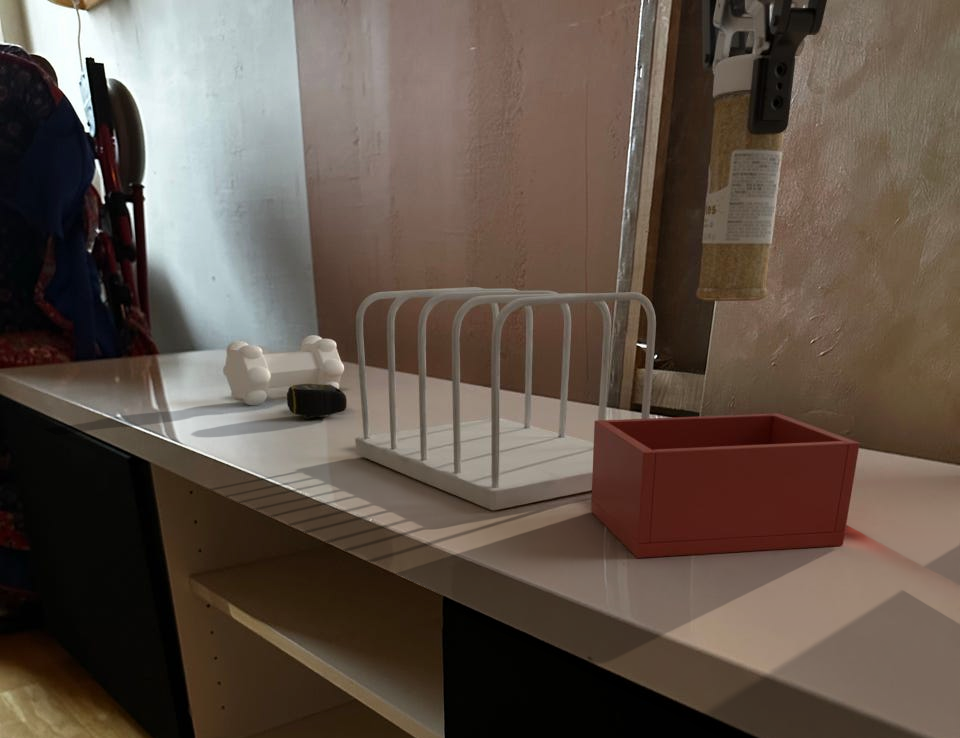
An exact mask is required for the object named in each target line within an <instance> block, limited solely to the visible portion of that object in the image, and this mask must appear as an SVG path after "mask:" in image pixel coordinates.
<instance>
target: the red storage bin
mask: <svg viewBox="0 0 960 738" xmlns="http://www.w3.org/2000/svg"><path fill="white" fill-rule="evenodd" d="M593 426H594V427H593V428H594V429H593V443H594V449H593V473H592V490H591V501H590V502H591V503H590V512H591V513H592V514H593V515H594V516H595V517H596V518H597V519H598V520H599V521H600V522H601V523H602V524H603V525H604V526H605V527H606V528H607V529H608V530H609V531H610V532H611V533H612V534H613V535H614V536H615V537H616V538H617V539H618V540H619V541H620V542H621V543H622V545H624V547H626V548H627V549H628V551H629V552H630V553H631V554H632V555H633V556H635V558H637V559H645V558H660V557H677V556H692V555H693V556H694V555H709V554H724V553H740V552H758V551H773V550H775V551H777V550H791V549H807V548H821V547H822V548H823V547H837V546H838V547H839V546H843V545H844V539H845V534H846V533H845V532H846V528H847V522H848V517H849V510H850V504H851V499H852V492H853V487H854V486H853V485H854V480H855V474H856V468H857V462H858V455H859V449H860V445H861V444H860V442H858V441H855V440H853V439H850V438H847V437H844V436H843V435H839V434H836V433H834V432H831V431H828V430H825V429H823V428H819V427H817V426H814V425H812V424H809V423H806V422H803V421H801V420H797V419H795V418H792V417H789V416H787V415H784V414H781V413H777V412H776V413H775V412H774V413H751V414H729V415H728V414H727V415H723V414H722V415H704V416H703V415H700V416H698V415H697V416H675V417H674V416H673V417H653V418H652V417H651V418H650V417H649V418H648V419H641V418H630V419H629V418H627V419H626V418H625V419H605V420H598V419H597V420H594V425H593Z"/></svg>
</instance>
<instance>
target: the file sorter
mask: <svg viewBox="0 0 960 738" xmlns="http://www.w3.org/2000/svg"><path fill="white" fill-rule="evenodd" d="M415 298H429V299H428V300H427V301H426V303H425V304H424V305H423V307H422V309H421V311H420V314H419V318H418V324H417V357H418V358H417V360H418V406H419V428H411V429H406V430H405V429H404V430H399V431H398V423H397V422H398V421H397V390H396V389H397V387H396V385H397V384H396V353H395V352H396V349H395V347H396V346H395V322H396V321H395V320H396V316H397V312H398V310H399V308H400V307H401V306H402V305H403V303H404V302H406V301H408V300H410V299H415ZM386 299H394V300H393V302H392V303H391V304H390V306H389V309H388V312H387V320H386V321H387V322H386V340H387V341H386V344H387V345H386V346H387V349H386V350H387V372H388V373H387V375H388V377H387V379H388V406H389V407H388V408H389V432H383V433H377V434H370V417H369V416H370V415H369V403H368V401H369V400H368V389H367V388H368V387H367V373H366V370H367V369H366V359H365V342H364V315H365V312H366V311H367V308H368V307H369V306H370V305H371V304H373V303H375V302H376V301H379V300H386ZM454 300H455V301H461V300H465V301H464V303H463V304H462V305H461V306H460V307H459V308H458V310H457V312H456V313H455V315H454V318H453V321H452V329H451V376H452V377H451V378H452V379H451V381H452V383H451V384H452V385H451V386H452V387H451V388H452V423H448V424H441V425H432V426H427V351H426V346H427V335H426V334H427V333H426V332H427V320H428V316H429V315H430V313H431V312H432V310H433V309H434V307H435V306H436V305H438V304H439V303H441V302H445V301H454ZM466 300H467V301H466ZM617 301H618V302H619V301H620V302H621V301H635V302H637V303H639V304H640V305H641V306H642V308H643V309H644V311H645V314H646V320H647V331H646V347H645V363H644V377H643V391H642V404H641V416H640V417H641V418H640V419H648V418H650V411H651V410H650V409H651V401H652V400H651V398H652V384H653V373H654V372H653V371H654V359H655V346H656V344H655V343H656V330H657V329H656V328H657V321H656V319H657V318H656V313H655V309H654V306H653V304H652V302H651V301H650V299H649V298H648V297H647V296H646V295H644V294H642V293H640V292H635V291H630V292H629V291H626V292H603V293H588V292H587V293H585V292H584V293H583V292H581V293H580V292H579V293H576V292H575V293H573V292H572V293H558V292H556V291H554V290H518V289H516V288H508V287H507V288H482V287H474V286H473V287H471V286H470V287H452V288H451V287H449V288H431V289H412V290H395V291H394V290H393V291H391V290H390V291H379V292H374V293H372V294H370V295H368V296H367V297H365V298H364V299H363V301H362V302H361V303H360V305H359V306H358V309H357V311H356V317H355V333H356V335H355V336H356V348H357V363H358V365H357V366H358V377H359V378H358V379H359V390H360V392H359V393H360V405H361V420H362V431H363V433H362V434H363V436H362V435H361V436H357V437H355V440H354V441H355V454H356V455H358V456H360V457H363V458H365V459H366V460H367V459H368V460H370V461H373V462H375V463H377V464H379V465H382V466H384V467H387V468H389V469H391V470H394V471H396V472H399V473H400V474H403V475H406V476H407V477H410V478H413V479H415V480H418V481H420V482H422V483H424V484H427V485H430V486H431V487H434V488H437V489H440V490H441V491H444V492H447V493H449V494H451V495H454V496H457V497H459V498H461V499H464V500H465V501H469V502H471V503H473V504H475V505H478V506H481V507H483V508H486V509H487V510H491V511H498V510H502V509H503V510H504V509H507V508H513V507H517V506H518V507H519V506H521V505H523V506H524V505H528V504H531V503H536V502H541V501H546V500H551V499H556V498H562V497H566V496H571V495H575V494H581V493H584V492H585V493H586V492H590V491H591V492H592V473H593V449H594V441H590V440H587V439H582V438H579V437H575V436H571V435H567V434H566V429H567V427H566V426H567V412H568V411H567V410H568V395H569V375H570V358H571V340H572V339H571V338H572V337H571V336H572V335H571V334H572V315H571V314H572V313H571V310H570V309H571V308H570V306H569V304H579V303H580V304H581V303H593V304H595V305H596V306H597V307H598V308H599V310H600V312H601V315H602V319H603V320H602V322H603V334H602V335H603V336H602V352H601V353H602V355H601V372H600V382H599V383H600V385H599V400H598V401H599V403H598V410H597V411H598V413H597V421H598V420H606V414H607V396H608V385H609V384H608V383H609V369H610V368H609V367H610V353H611V337H612V316H611V312H610V308H609V306H608V304H607V303H606V302H617ZM498 304H505V305H504V306H503V307H502V308H501V310H499V305H498ZM479 305H490V307H491V310H492V330H491V351H490V352H491V357H490V360H491V361H490V362H491V363H490V364H491V365H490V366H491V367H490V368H491V369H490V371H491V372H490V377H491V378H490V389H491V390H490V393H491V396H490V397H491V400H490V401H491V404H490V405H491V406H490V408H491V409H490V410H491V412H490V413H491V418H484V419H478V420H477V419H476V420H470V421H469V420H468V421H463V422H462V419H461V417H462V416H461V414H462V413H461V359H460V356H461V355H460V338H461V337H460V334H461V326H462V322H463V319H464V317H465V316H466V315H467V313H468V312H469V311H470V310H471V309H472V308H474V307H476V306H479ZM547 305H548V306H549V305H559V307H560V308H561V311H562V313H563V339H562V341H563V342H562V362H561V363H562V365H561V381H560V382H561V385H560V400H559V401H560V403H559V422H558V423H559V424H558V425H559V426H558V432H556V431H552V430H548V429H545V428H541V427H536V426H533V425H531V424H532V423H531V420H532V377H533V336H534V332H533V331H534V330H533V328H534V316H533V309H532V307H534V306H547ZM522 307H524V310H525V311H524V312H525V318H526V320H525V321H526V322H525V327H526V329H525V330H526V331H525V332H526V333H525V375H524V380H525V381H524V419H523V420H524V423H521V422H518V421H514V420H509V419H505V418H502V417H501V416H500V413H501V412H500V411H501V409H500V404H501V403H500V402H501V364H500V363H501V335H502V330H503V326H504V323H505V322H506V319H507V318H508V317H509V315H510V314H511V313H512V312H514V311H515V310H517V309H520V308H522Z"/></svg>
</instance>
